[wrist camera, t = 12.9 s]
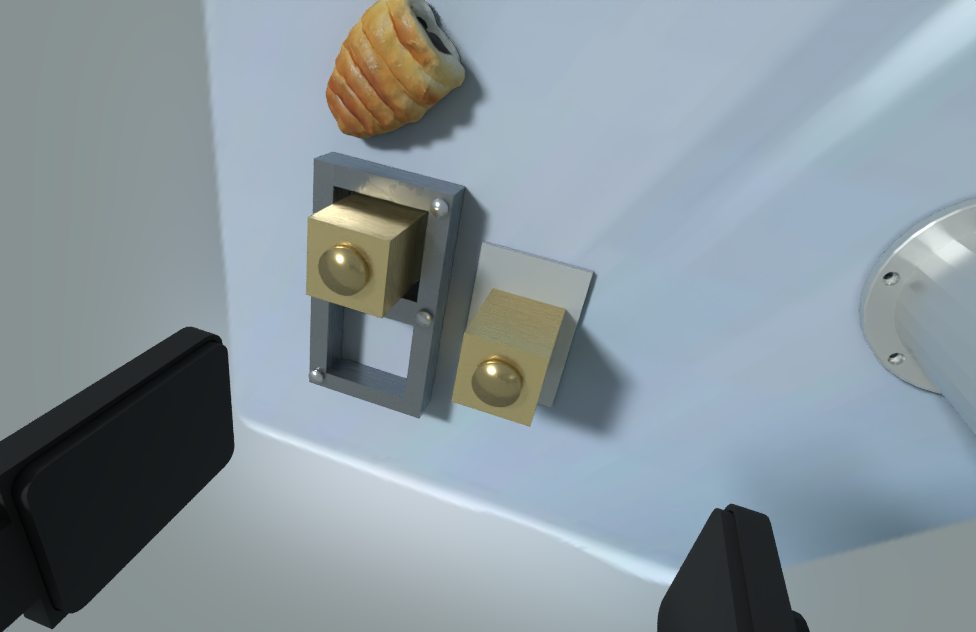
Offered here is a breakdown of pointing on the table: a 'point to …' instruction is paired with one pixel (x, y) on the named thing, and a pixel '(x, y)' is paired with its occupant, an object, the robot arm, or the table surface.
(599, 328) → the table surface
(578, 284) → the mat
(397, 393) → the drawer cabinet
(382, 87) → the pastry
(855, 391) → the table surface
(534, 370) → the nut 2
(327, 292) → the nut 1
